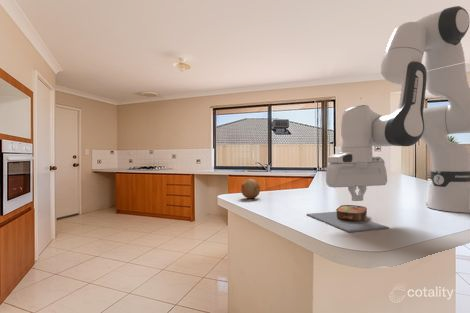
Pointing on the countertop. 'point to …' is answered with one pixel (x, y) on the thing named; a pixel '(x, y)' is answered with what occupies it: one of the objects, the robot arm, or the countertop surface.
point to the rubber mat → (347, 222)
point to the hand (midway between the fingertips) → (357, 200)
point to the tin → (351, 212)
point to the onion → (250, 188)
